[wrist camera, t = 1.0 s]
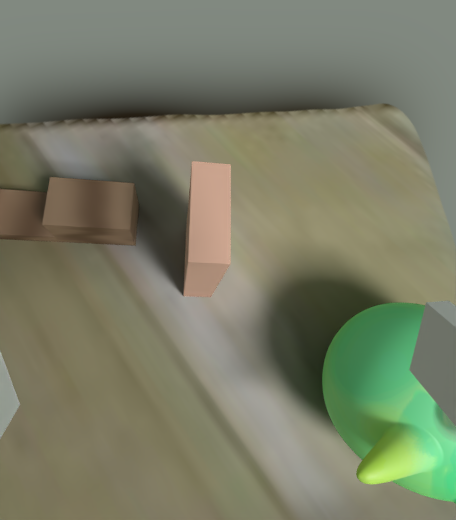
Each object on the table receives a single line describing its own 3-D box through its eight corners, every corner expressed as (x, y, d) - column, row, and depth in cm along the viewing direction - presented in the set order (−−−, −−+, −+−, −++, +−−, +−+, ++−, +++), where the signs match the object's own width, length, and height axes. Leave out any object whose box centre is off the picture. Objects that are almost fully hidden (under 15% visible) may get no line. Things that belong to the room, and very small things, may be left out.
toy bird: (465, 355, 40) (619, 355, 26) (431, 510, 35) (601, 612, 21) (328, 288, 40) (411, 251, 26) (274, 434, 35) (341, 485, 21)
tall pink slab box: (183, 296, 37) (188, 262, 24) (186, 227, 39) (192, 161, 26) (210, 296, 38) (230, 264, 24) (212, 228, 40) (230, 164, 27)
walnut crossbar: (-87, 234, 35) (-128, 215, 30) (-74, 190, 36) (-112, 164, 31) (135, 245, 38) (129, 229, 33) (138, 204, 39) (134, 183, 35)
